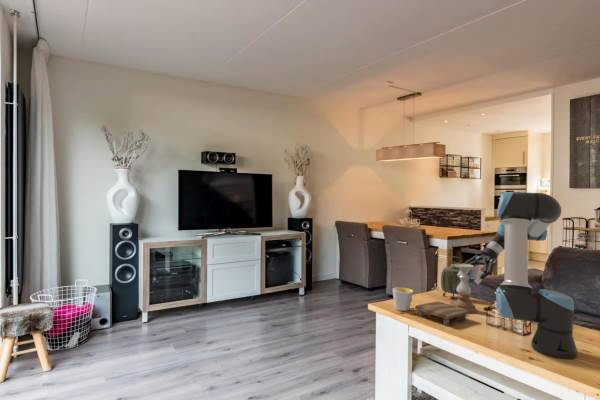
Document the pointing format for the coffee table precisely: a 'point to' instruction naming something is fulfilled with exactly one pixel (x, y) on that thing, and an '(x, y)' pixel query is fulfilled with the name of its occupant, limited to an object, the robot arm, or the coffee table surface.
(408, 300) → the mug
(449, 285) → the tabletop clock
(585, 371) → the coffee table surface
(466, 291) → the candle holder
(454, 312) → the walnut stand
